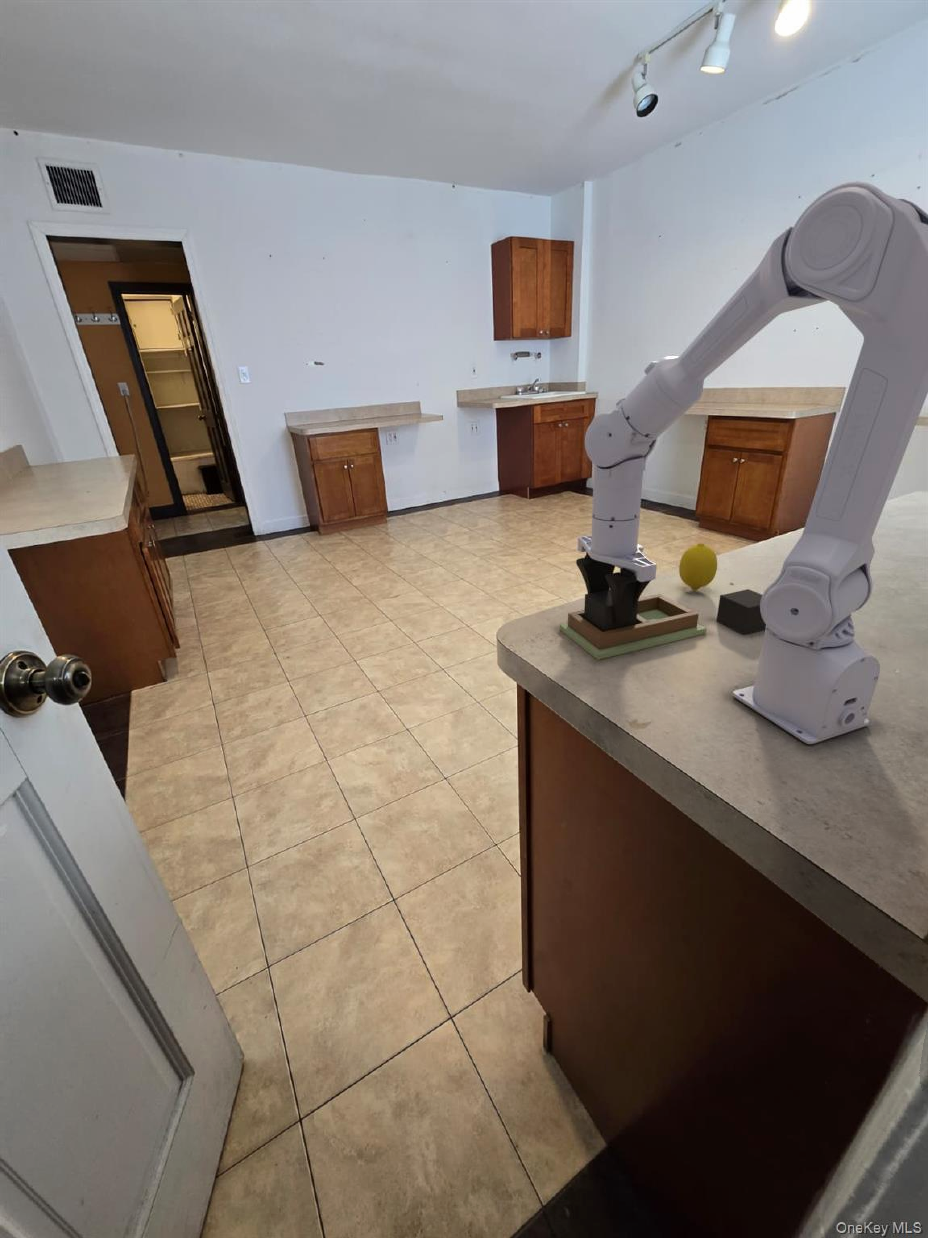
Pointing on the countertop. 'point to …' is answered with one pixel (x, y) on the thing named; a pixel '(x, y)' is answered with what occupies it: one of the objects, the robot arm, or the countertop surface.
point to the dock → (636, 628)
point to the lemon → (698, 566)
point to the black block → (741, 611)
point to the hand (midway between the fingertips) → (609, 614)
